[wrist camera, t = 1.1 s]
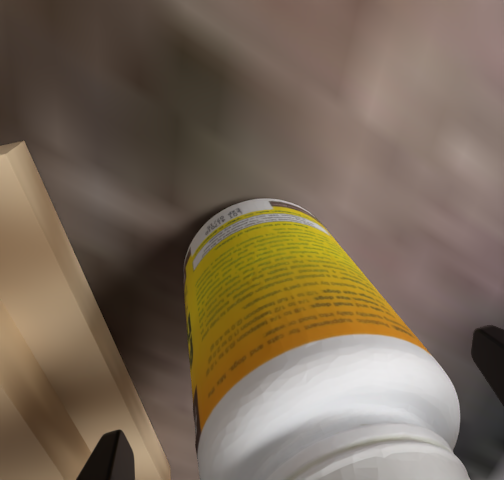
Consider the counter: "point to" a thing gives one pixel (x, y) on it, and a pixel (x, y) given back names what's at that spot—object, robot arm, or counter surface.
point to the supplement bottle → (305, 360)
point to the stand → (56, 346)
